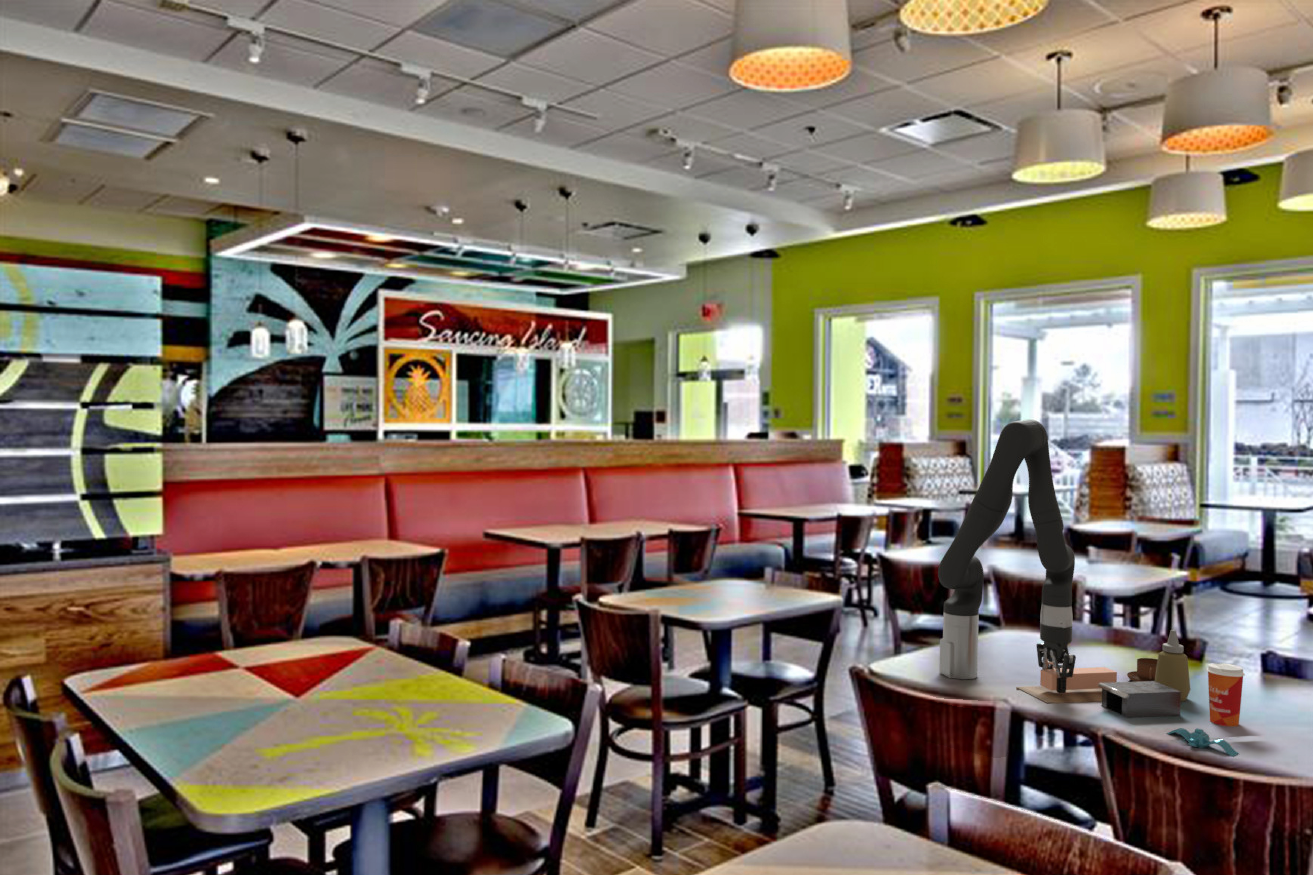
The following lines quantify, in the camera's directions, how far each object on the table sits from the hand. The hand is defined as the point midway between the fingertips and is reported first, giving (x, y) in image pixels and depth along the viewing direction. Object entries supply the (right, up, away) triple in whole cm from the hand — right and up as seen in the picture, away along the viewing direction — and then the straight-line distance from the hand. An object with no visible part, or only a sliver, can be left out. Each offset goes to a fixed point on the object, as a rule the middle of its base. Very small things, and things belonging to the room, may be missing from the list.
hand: (1054, 689), depth 243 cm
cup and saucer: (+33, -3, +16) cm, 37 cm away
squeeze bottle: (+29, -3, -1) cm, 29 cm away
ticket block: (+6, 0, +1) cm, 7 cm away
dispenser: (+15, -3, -13) cm, 20 cm away
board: (+6, -2, +1) cm, 7 cm away
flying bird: (+17, -4, -35) cm, 39 cm away
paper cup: (+30, -3, -21) cm, 37 cm away
